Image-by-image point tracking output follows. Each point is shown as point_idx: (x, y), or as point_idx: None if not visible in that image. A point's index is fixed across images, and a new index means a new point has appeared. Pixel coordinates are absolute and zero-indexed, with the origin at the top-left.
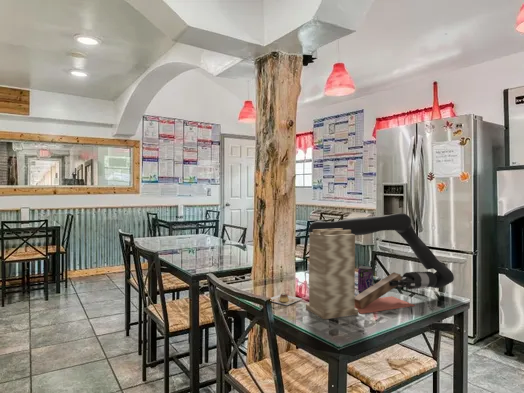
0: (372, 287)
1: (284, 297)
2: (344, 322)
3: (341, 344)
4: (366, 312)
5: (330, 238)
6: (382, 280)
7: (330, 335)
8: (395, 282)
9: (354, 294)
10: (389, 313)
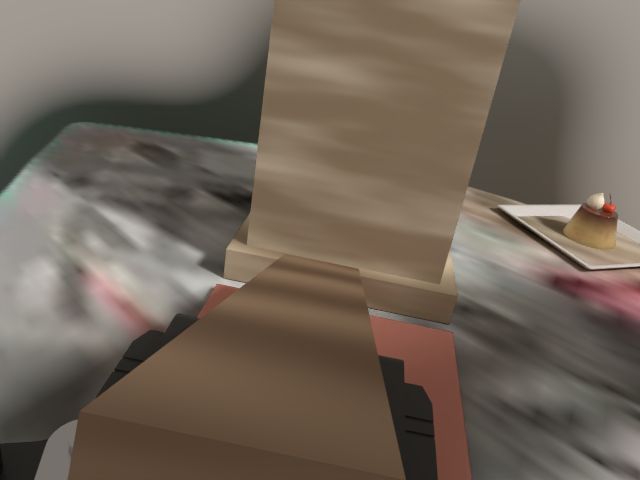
0: (330, 291)
1: (575, 213)
2: (192, 201)
3: (74, 125)
4: (203, 308)
5: None
6: (345, 333)
7: (145, 142)
8: (113, 377)
9: (257, 154)
10: (56, 399)
